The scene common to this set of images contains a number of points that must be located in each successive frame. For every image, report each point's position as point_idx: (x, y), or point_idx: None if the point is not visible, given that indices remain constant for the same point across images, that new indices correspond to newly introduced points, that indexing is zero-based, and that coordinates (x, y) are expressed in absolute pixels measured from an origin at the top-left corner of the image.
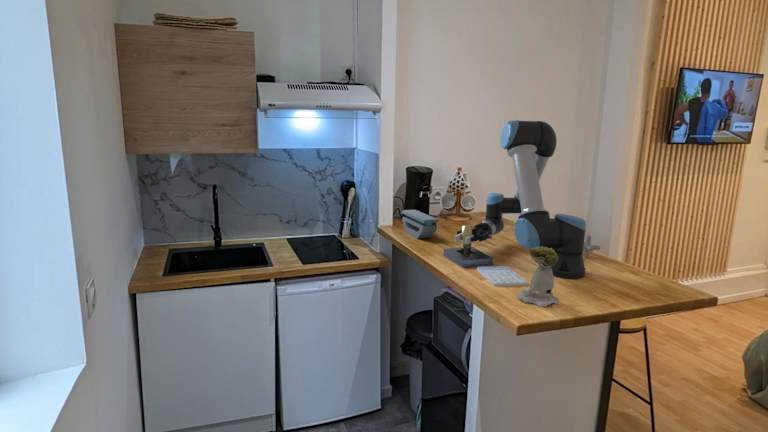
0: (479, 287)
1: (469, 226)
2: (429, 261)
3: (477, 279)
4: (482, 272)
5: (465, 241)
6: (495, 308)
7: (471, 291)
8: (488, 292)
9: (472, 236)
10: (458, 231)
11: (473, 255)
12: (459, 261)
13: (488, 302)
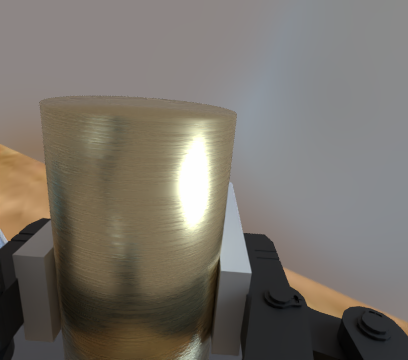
0: (31, 182)
1: (101, 102)
2: (290, 276)
3: (32, 210)
4: (1, 232)
5: None
6: (6, 148)
7: None
8: (7, 173)
9: (45, 235)
10: (365, 316)
11: (39, 349)
12: None
13: (17, 155)
